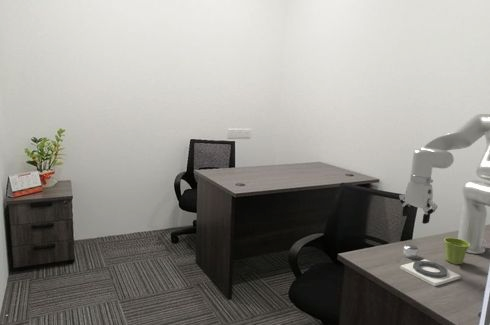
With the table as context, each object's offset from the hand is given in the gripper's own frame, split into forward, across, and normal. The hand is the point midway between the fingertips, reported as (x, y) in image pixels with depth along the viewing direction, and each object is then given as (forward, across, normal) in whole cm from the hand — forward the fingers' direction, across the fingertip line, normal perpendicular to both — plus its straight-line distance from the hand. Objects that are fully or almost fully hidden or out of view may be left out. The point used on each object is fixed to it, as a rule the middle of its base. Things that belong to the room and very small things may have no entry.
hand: (415, 219), depth 153 cm
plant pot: (+17, -11, -13) cm, 24 cm away
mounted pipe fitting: (+16, -14, +7) cm, 22 cm away
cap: (+17, 0, 0) cm, 17 cm away
